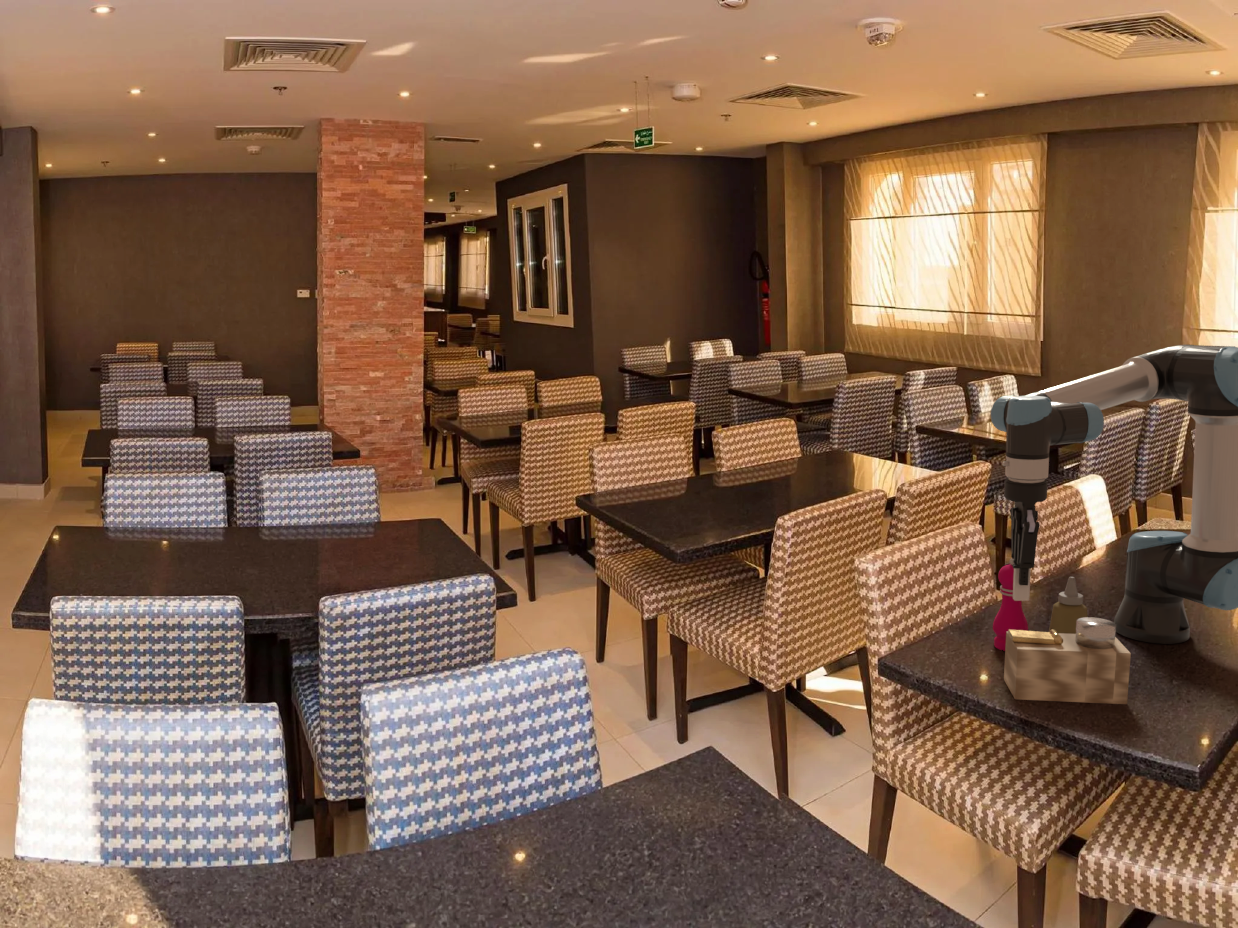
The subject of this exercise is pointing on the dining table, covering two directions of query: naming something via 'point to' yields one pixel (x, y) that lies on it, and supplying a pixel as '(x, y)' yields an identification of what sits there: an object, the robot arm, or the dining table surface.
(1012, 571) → the pepper mill
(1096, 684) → the maple block
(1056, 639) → the brass latch
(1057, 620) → the squeeze bottle
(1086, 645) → the silver capsule
